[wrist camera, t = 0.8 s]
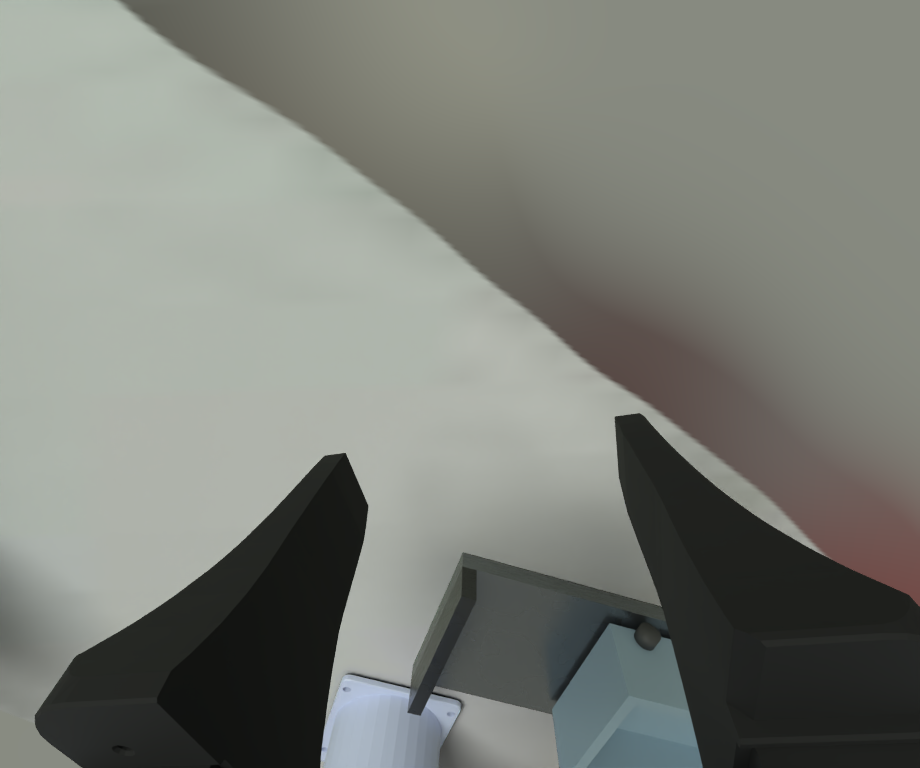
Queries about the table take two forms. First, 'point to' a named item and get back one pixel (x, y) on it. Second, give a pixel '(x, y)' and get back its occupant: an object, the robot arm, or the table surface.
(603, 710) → the cart
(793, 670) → the robot arm
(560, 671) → the rail
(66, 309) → the table surface
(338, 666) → the table surface
